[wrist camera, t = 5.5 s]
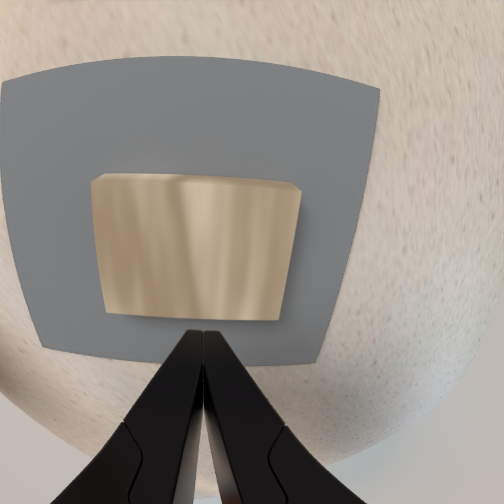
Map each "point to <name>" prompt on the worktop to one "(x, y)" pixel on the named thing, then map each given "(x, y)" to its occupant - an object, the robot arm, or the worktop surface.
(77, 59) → the worktop surface
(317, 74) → the mat
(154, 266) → the tile
